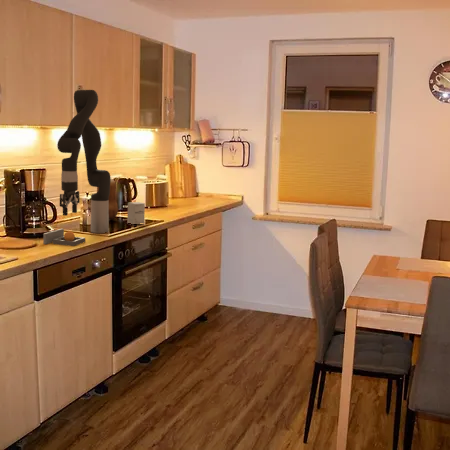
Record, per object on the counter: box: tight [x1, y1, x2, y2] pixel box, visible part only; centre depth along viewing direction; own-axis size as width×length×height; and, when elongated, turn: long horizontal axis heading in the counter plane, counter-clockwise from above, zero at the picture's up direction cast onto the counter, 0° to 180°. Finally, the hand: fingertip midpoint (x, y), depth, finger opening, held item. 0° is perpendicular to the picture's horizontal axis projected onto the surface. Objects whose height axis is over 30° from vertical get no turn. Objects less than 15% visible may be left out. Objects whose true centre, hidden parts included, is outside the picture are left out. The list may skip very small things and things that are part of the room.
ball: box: [64, 230, 76, 241], centre depth 290 cm, size 5×5×5 cm
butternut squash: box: [96, 178, 119, 221], centre depth 357 cm, size 14×13×25 cm
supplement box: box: [127, 201, 146, 225], centre depth 350 cm, size 7×7×13 cm
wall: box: [42, 228, 65, 245], centre depth 292 cm, size 16×1×5 cm, turn 164°
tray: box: [52, 236, 86, 247], centre depth 290 cm, size 11×11×2 cm
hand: (69, 214), depth 288 cm, fingers open, 8 cm apart
